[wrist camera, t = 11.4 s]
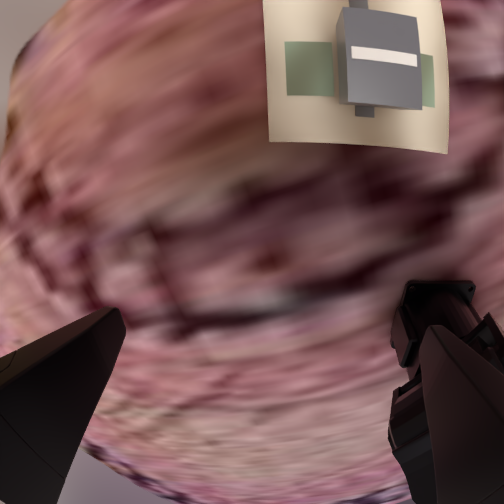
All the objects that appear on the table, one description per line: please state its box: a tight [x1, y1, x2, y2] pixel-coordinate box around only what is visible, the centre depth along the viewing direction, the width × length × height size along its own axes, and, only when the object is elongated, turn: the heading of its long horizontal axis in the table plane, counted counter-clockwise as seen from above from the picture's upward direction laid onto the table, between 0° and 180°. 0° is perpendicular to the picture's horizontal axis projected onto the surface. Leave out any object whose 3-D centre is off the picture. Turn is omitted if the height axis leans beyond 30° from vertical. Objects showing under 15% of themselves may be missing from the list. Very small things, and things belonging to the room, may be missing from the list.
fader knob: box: [336, 7, 422, 110], centre depth 11 cm, size 3×4×4 cm
